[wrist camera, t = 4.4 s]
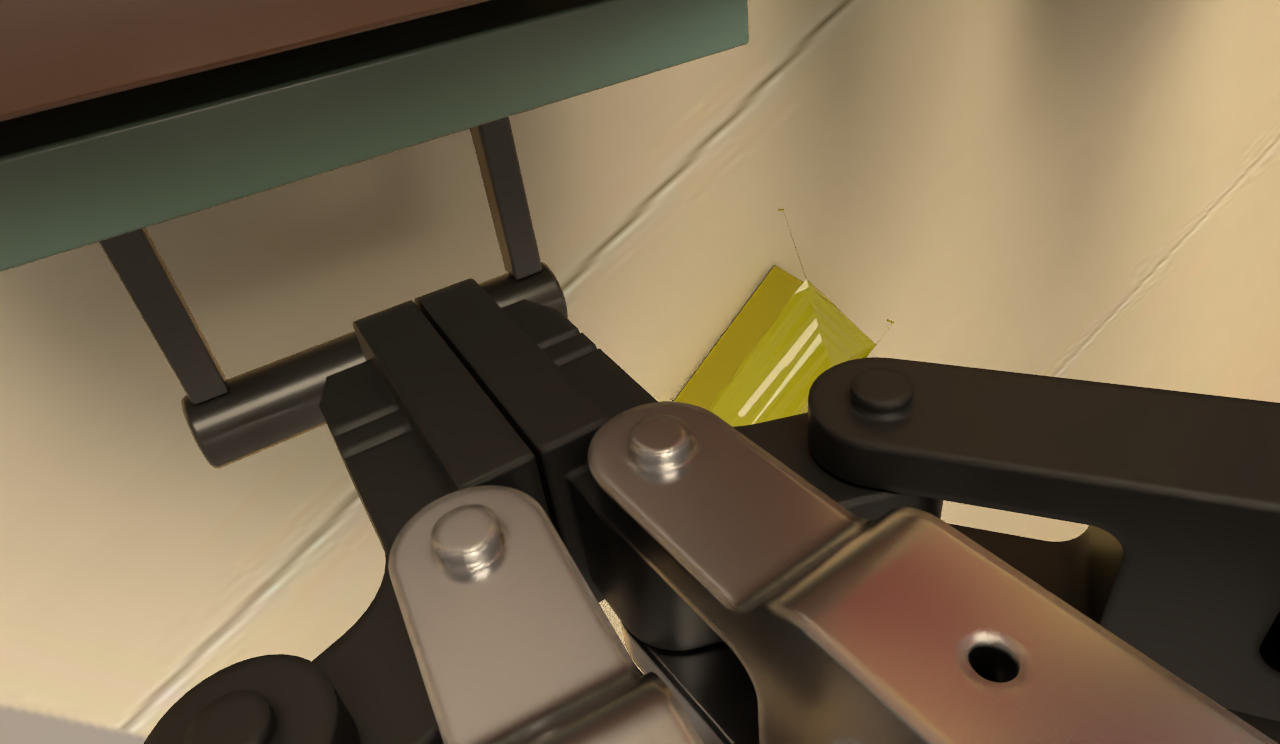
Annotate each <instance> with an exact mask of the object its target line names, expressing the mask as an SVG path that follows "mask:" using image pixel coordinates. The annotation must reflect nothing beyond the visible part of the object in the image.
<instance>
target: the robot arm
mask: <svg viewBox="0 0 1280 744" xmlns="http://www.w3.org/2000/svg"><path fill="white" fill-rule="evenodd" d="M353 326H354V330H355V333H356V336H357V339H358V341H359V344H360V347H361V349H362V352H363V354H364V357H365V360H366V361H365V362H363V363H360V364H358V365H355V366H353V367H350V368H347V369H345V370H342V371H340V372H337V373H335V374H332V375H330V376H327V377H326V381H325V385H324V389H323V392H322V396H321V400H320V404H319V407H320V410H321V412H322V414H323V416H324V419H325V421H326V423H327V425H328V428H329V430H330V432H331V434H332V436H333V439H334V441H335V443H336V445H337V448H338V450H339V452H340V454H341V457H342V459H343V461H344V463H345V466H346V468H347V470H348V472H349V474H350V477H351V479H352V481H353V483H354V486H355V488H356V490H357V492H358V495H359V497H360V499H361V501H362V503H363V506H364V508H365V510H366V512H367V514H368V516H369V519H370V521H371V523H372V525H373V527H374V529H375V532H376V534H377V536H378V538H379V540H380V542H381V545H382V547H383V549H384V551H385V556H386V565H385V573H384V577H383V580H382V583H381V586H380V588H379V590H378V592H377V594H376V596H375V598H374V600H373V601H372V603H371V604H370V606H369V607H368V609H367V610H366V612H365V613H364V614H363V615H362V616H361V617H360V619H359V620H358V621H357V622H356V623H355V624H354V625H353V626H352V627H351V628H350V629H349V630H348V631H347V632H346V633H345V634H344V635H343V636H341V637H340V638H339V639H338V640H337V641H335V642H334V643H333V644H332V645H331V646H330V647H328V648H327V649H326V650H325V651H324V652H323V653H321V654H320V655H319V656H318V657H317V658H315V659H314V660H313V661H312V662H311V661H309V660H307V659H304V658H301V657H298V656H292V655H284V654H279V655H265V656H260V657H255V658H250V659H247V660H244V661H241V662H238V663H235V664H233V665H231V666H229V667H227V668H224V669H222V670H220V671H218V672H217V673H215V674H213V675H211V676H210V677H208V678H206V679H205V680H203V681H202V682H200V683H199V684H198V685H196V686H195V687H194V688H192V689H191V690H190V691H188V692H187V693H186V694H185V695H184V696H183V697H182V698H180V699H179V700H178V701H177V702H176V703H175V704H174V705H173V706H172V707H171V708H170V709H169V710H168V711H167V712H166V714H165V715H164V716H163V717H162V718H161V719H160V720H159V722H158V723H157V725H156V726H155V727H154V729H153V730H152V732H151V733H150V734H149V736H148V737H147V739H146V741H145V742H144V744H1280V403H1275V402H1266V401H1257V400H1249V399H1240V398H1231V397H1223V396H1214V395H1205V394H1196V393H1188V392H1179V391H1170V390H1162V389H1153V388H1144V387H1136V386H1127V385H1118V384H1110V383H1101V382H1092V381H1083V380H1075V379H1066V378H1057V377H1049V376H1040V375H1031V374H1023V373H1014V372H1005V371H996V370H988V369H979V368H970V367H962V366H953V365H944V364H936V363H927V362H918V361H909V360H901V359H892V358H878V357H877V358H861V359H854V360H850V361H846V362H843V363H840V364H837V365H835V366H833V367H831V368H829V369H827V370H826V371H824V372H823V373H822V374H821V375H819V376H818V377H817V378H816V380H815V381H814V382H813V384H812V386H811V388H810V390H809V395H808V412H807V413H802V414H798V415H793V416H789V417H784V418H780V419H775V420H770V421H766V422H761V423H757V424H751V425H745V426H735V427H732V426H731V425H729V424H728V423H727V422H725V421H724V420H723V419H721V418H720V417H718V416H717V415H715V414H714V413H712V412H710V411H709V410H707V409H704V408H702V407H699V406H696V405H692V404H688V403H681V402H658V401H656V400H655V399H654V398H653V397H652V396H651V395H650V394H649V393H648V392H647V391H645V390H644V389H643V388H642V387H641V386H640V385H639V384H638V383H637V382H636V381H635V380H633V379H632V378H631V377H630V376H629V375H628V374H627V373H626V372H625V371H624V370H623V369H621V368H620V367H619V366H618V365H617V364H616V363H615V362H614V361H613V360H612V359H611V358H609V357H608V356H607V355H606V354H605V353H604V352H603V351H602V350H601V349H598V350H597V348H596V345H595V344H594V343H593V342H592V341H591V340H590V339H589V338H588V337H586V336H585V335H584V334H583V333H579V330H578V328H577V327H576V326H574V325H573V324H572V323H571V322H570V321H569V320H568V319H567V318H566V317H565V316H563V315H562V314H561V313H560V312H559V311H558V310H556V309H553V308H550V307H547V306H544V305H541V304H538V303H535V302H532V301H529V300H526V299H523V300H521V301H518V302H516V303H513V304H511V305H508V306H505V307H503V308H501V307H500V306H499V305H498V304H497V303H496V302H495V301H494V300H493V299H492V298H491V297H490V296H489V295H488V294H487V293H486V292H485V291H484V290H483V289H482V288H481V287H480V285H479V284H478V283H477V282H476V281H474V280H473V279H471V278H469V279H467V280H464V281H461V282H458V283H456V284H453V285H450V286H448V287H445V288H442V289H440V290H437V291H434V292H431V293H429V294H426V295H423V296H421V297H418V298H415V300H414V302H413V301H408V302H405V303H402V304H400V305H397V306H394V307H391V308H389V309H386V310H383V311H381V312H378V313H375V314H373V315H370V316H367V317H365V318H362V319H359V320H356V321H354V322H353ZM943 500H946V501H952V502H958V503H964V504H970V505H975V506H981V507H987V508H993V509H999V510H1005V511H1011V512H1017V513H1023V514H1028V515H1034V516H1040V517H1046V518H1052V519H1058V520H1064V521H1070V522H1075V523H1081V524H1087V525H1089V526H1088V529H1087V530H1086V531H1085V532H1084V533H1083V534H1082V535H1080V536H1079V537H1077V538H1075V539H1072V540H1068V541H1063V542H1049V541H1042V540H1037V539H1031V538H1026V537H1020V536H1014V535H1009V534H1003V533H998V532H992V531H986V530H981V529H975V528H970V527H964V526H959V525H953V524H947V523H946V522H944V521H942V520H941V519H940V518H941V511H942V505H943ZM604 599H606V601H607V602H608V603H609V605H610V606H611V608H612V609H613V610H614V612H615V613H616V614H617V616H618V617H619V618H620V620H621V625H622V630H623V635H624V640H625V645H626V648H627V650H628V652H629V654H628V652H627V650H626V649H625V647H624V645H623V644H622V642H621V640H620V639H619V637H618V635H617V633H616V632H615V630H614V628H613V627H612V625H611V623H610V621H609V620H608V618H607V616H606V615H605V613H604V611H603V610H602V608H601V606H600V604H599V602H601V601H602V600H604ZM629 655H630V656H631V657H630V656H629ZM631 658H632V659H633V660H634V662H635V663H636V664H637V666H638V667H639V668H640V669H641V670H642V671H643V673H644V674H645V675H644V674H643V673H642V672H641V671H640V670H639V669H638V668H637V666H636V665H635V663H634V662H633V660H632V659H631Z"/></svg>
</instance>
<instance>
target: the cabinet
mask: <svg viewBox="0 0 1280 744" xmlns="http://www.w3.org/2000/svg"><path fill="white" fill-rule="evenodd" d="M487 1H491V0H0V122H2V121H6V120H10V119H14V118H18V117H22V116H26V115H30V114H34V113H38V112H42V111H46V110H50V109H54V108H59V107H63V106H67V105H71V104H75V103H79V102H83V101H87V100H91V99H95V98H99V97H103V96H107V95H111V94H115V93H119V92H123V91H127V90H131V89H135V88H139V87H143V86H147V85H152V84H156V83H160V82H164V81H168V80H172V79H176V78H180V77H184V76H188V75H192V74H196V73H200V72H204V71H208V70H212V69H216V68H220V67H224V66H228V65H232V64H236V63H241V62H245V61H249V60H253V59H257V58H261V57H265V56H269V55H273V54H277V53H281V52H285V51H289V50H293V49H297V48H301V47H305V46H309V45H313V44H317V43H321V42H325V41H329V40H334V39H338V38H342V37H346V36H350V35H354V34H358V33H362V32H366V31H370V30H374V29H378V28H382V27H386V26H390V25H394V24H398V23H402V22H406V21H410V20H414V19H418V18H423V17H427V16H431V15H435V14H439V13H443V12H447V11H451V10H455V9H459V8H463V7H467V6H471V5H475V4H479V3H483V2H487Z"/></svg>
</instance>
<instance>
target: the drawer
mask: <svg viewBox="0 0 1280 744" xmlns="http://www.w3.org/2000/svg"><path fill="white" fill-rule="evenodd" d="M748 41H749V34H748V9H747V0H491V1H487V2H483V3H479V4H475V5H471V6H467V7H463V8H459V9H455V10H451V11H447V12H443V13H439V14H435V15H431V16H427V17H423V18H418V19H414V20H410V21H406V22H402V23H398V24H394V25H390V26H386V27H382V28H378V29H374V30H370V31H366V32H362V33H358V34H354V35H350V36H346V37H342V38H338V39H334V40H329V41H325V42H321V43H317V44H313V45H309V46H305V47H301V48H297V49H293V50H289V51H285V52H281V53H277V54H273V55H269V56H265V57H261V58H257V59H253V60H249V61H245V62H241V63H236V64H232V65H228V66H224V67H220V68H216V69H212V70H208V71H204V72H200V73H196V74H192V75H188V76H184V77H180V78H176V79H172V80H168V81H164V82H160V83H156V84H152V85H147V86H143V87H139V88H135V89H131V90H127V91H123V92H119V93H115V94H111V95H107V96H103V97H99V98H95V99H91V100H87V101H83V102H79V103H75V104H71V105H67V106H63V107H59V108H54V109H50V110H46V111H42V112H38V113H34V114H30V115H26V116H22V117H18V118H14V119H10V120H6V121H2V122H0V272H1V271H4V270H8V269H11V268H14V267H17V266H21V265H24V264H27V263H31V262H34V261H37V260H40V259H44V258H47V257H50V256H53V255H57V254H60V253H63V252H67V251H70V250H73V249H76V248H80V247H83V246H86V245H90V244H93V243H96V242H99V243H100V245H101V247H102V248H103V250H104V252H105V254H106V255H107V257H108V259H109V261H110V262H111V264H112V266H113V267H114V269H115V271H116V273H117V274H118V276H119V278H120V280H121V281H122V283H123V285H124V286H125V288H126V290H127V292H128V293H129V295H130V297H131V299H132V300H133V302H134V304H135V305H136V307H137V309H138V311H139V312H140V314H141V316H142V318H143V319H144V321H145V323H146V324H147V326H148V328H149V330H150V331H151V333H152V335H153V337H154V338H155V340H156V342H157V343H158V345H159V347H160V349H161V350H162V352H163V354H164V356H165V357H166V359H167V361H168V362H169V364H170V366H171V368H172V369H173V371H174V373H175V375H176V376H177V378H178V380H179V382H180V383H181V385H182V387H183V388H184V390H185V392H186V394H187V395H186V396H184V397H183V398H182V410H183V413H184V416H185V419H186V421H187V424H188V426H189V429H190V431H191V433H192V435H193V437H194V439H195V441H196V443H197V445H198V447H199V449H200V450H201V452H202V454H203V455H204V457H205V458H206V460H207V461H208V462H209V464H210V465H212V466H213V467H214V468H222V467H224V466H227V465H229V464H231V463H234V462H236V461H239V460H241V459H243V458H246V457H248V456H251V455H253V454H255V453H258V452H260V451H263V450H265V449H267V448H270V447H272V446H275V445H277V444H279V443H282V442H284V441H287V440H289V439H291V438H294V437H296V436H299V435H301V434H303V433H306V432H308V431H311V430H313V429H315V428H318V427H320V426H323V425H325V424H327V423H326V421H325V419H324V416H323V414H322V412H321V410H320V407H319V404H320V400H321V396H322V392H323V389H324V385H325V381H326V377H327V376H330V375H332V374H335V373H337V372H340V371H342V370H345V369H347V368H350V367H353V366H355V365H358V364H360V363H363V362H365V361H366V360H365V357H364V354H363V352H362V349H361V347H360V344H359V341H358V339H357V336H356V333H355V331H354V332H351V333H348V334H346V335H343V336H341V337H338V338H335V339H333V340H330V341H327V342H325V343H322V344H320V345H317V346H314V347H312V348H309V349H306V350H304V351H301V352H298V353H296V354H293V355H291V356H288V357H285V358H283V359H280V360H277V361H275V362H272V363H270V364H267V365H264V366H262V367H259V368H256V369H254V370H251V371H248V372H246V373H243V374H241V375H238V376H235V377H233V378H230V379H227V380H226V378H225V375H224V373H223V371H222V370H221V368H220V366H219V364H218V362H217V360H216V358H215V356H214V355H213V353H212V351H211V349H210V347H209V345H208V343H207V341H206V340H205V338H204V336H203V334H202V332H201V330H200V328H199V326H198V325H197V323H196V321H195V319H194V317H193V315H192V313H191V311H190V310H189V308H188V306H187V304H186V302H185V300H184V298H183V296H182V295H181V293H180V291H179V289H178V287H177V285H176V283H175V282H174V280H173V278H172V276H171V274H170V272H169V270H168V268H167V267H166V265H165V263H164V261H163V259H162V257H161V255H160V253H159V252H158V250H157V248H156V246H155V244H154V242H153V240H152V238H151V237H150V235H149V233H148V231H147V229H146V227H148V226H152V225H155V224H158V223H162V222H165V221H168V220H171V219H175V218H178V217H181V216H185V215H188V214H191V213H194V212H198V211H201V210H204V209H207V208H211V207H214V206H217V205H221V204H224V203H227V202H230V201H234V200H237V199H240V198H244V197H247V196H250V195H253V194H257V193H260V192H263V191H266V190H270V189H273V188H276V187H280V186H283V185H286V184H289V183H293V182H296V181H299V180H303V179H306V178H309V177H312V176H316V175H319V174H322V173H325V172H329V171H332V170H335V169H339V168H342V167H345V166H348V165H352V164H355V163H358V162H362V161H365V160H368V159H371V158H375V157H378V156H381V155H384V154H388V153H391V152H394V151H398V150H401V149H404V148H407V147H411V146H414V145H417V144H420V143H424V142H427V141H430V140H434V139H437V138H440V137H443V136H447V135H450V134H453V133H457V132H460V131H463V130H466V129H470V131H471V135H472V139H473V143H474V147H475V151H476V155H477V159H478V163H479V167H480V171H481V175H482V179H483V183H484V187H485V191H486V195H487V199H488V203H489V207H490V211H491V215H492V218H493V222H494V226H495V230H496V234H497V238H498V242H499V246H500V250H501V254H502V258H503V262H504V266H505V269H506V271H507V272H508V273H506V274H504V275H501V276H498V277H496V278H493V279H490V280H488V281H485V282H483V283H480V284H479V285H480V287H481V288H482V289H483V290H484V291H485V292H486V293H487V294H488V295H489V296H490V297H491V298H492V299H493V300H494V301H495V302H496V303H497V304H498V305H499V306H500V307H501V308H503V307H505V306H508V305H511V304H513V303H516V302H518V301H521V300H523V299H526V300H529V301H532V302H535V303H538V304H541V305H544V306H547V307H550V308H553V309H556V310H558V311H559V312H560V313H561V314H562V315H563V316H565V317H566V318H567V317H568V315H567V306H566V301H565V298H564V295H563V292H562V289H561V287H560V285H559V283H558V281H557V279H556V277H555V275H554V274H553V272H552V271H551V270H550V268H549V267H548V266H547V265H546V264H544V263H543V262H541V261H540V257H539V252H538V248H537V243H536V238H535V234H534V229H533V225H532V220H531V216H530V211H529V207H528V202H527V198H526V193H525V189H524V184H523V179H522V175H521V170H520V166H519V161H518V157H517V152H516V148H515V143H514V139H513V134H512V129H511V125H510V120H509V116H512V115H516V114H519V113H522V112H525V111H529V110H532V109H535V108H538V107H542V106H545V105H548V104H552V103H555V102H558V101H561V100H565V99H568V98H571V97H575V96H578V95H581V94H584V93H588V92H591V91H594V90H597V89H601V88H604V87H607V86H611V85H614V84H617V83H620V82H624V81H627V80H630V79H633V78H637V77H640V76H643V75H647V74H650V73H653V72H656V71H660V70H663V69H666V68H670V67H673V66H676V65H679V64H683V63H686V62H689V61H692V60H696V59H699V58H702V57H706V56H709V55H712V54H715V53H719V52H722V51H725V50H729V49H732V48H735V47H738V46H742V45H745V44H747V43H748Z"/></svg>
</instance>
